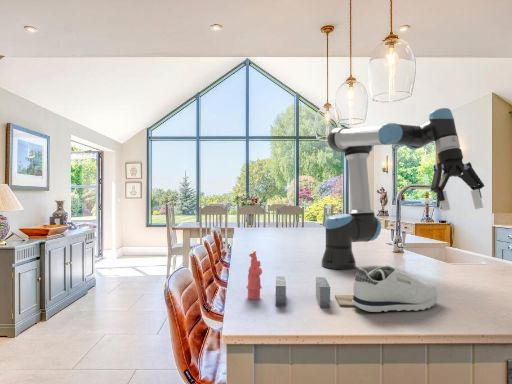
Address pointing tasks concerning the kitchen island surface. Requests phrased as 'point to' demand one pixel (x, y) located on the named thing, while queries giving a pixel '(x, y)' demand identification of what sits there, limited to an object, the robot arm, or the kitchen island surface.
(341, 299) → the pad
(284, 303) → the grey blocks
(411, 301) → the running shoe
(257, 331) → the kitchen island surface
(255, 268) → the figurine
